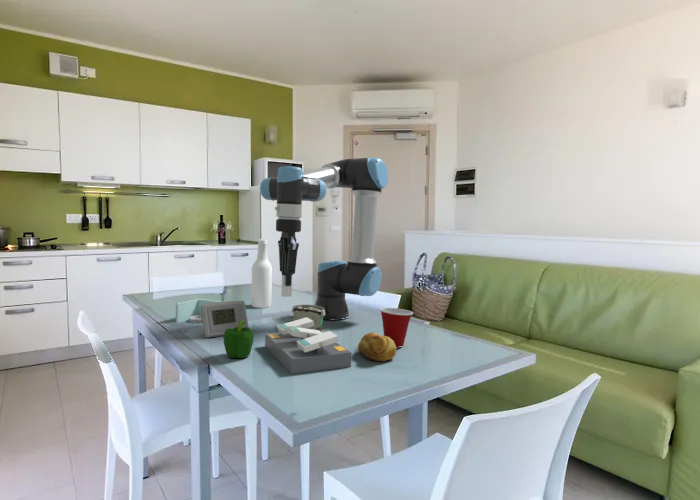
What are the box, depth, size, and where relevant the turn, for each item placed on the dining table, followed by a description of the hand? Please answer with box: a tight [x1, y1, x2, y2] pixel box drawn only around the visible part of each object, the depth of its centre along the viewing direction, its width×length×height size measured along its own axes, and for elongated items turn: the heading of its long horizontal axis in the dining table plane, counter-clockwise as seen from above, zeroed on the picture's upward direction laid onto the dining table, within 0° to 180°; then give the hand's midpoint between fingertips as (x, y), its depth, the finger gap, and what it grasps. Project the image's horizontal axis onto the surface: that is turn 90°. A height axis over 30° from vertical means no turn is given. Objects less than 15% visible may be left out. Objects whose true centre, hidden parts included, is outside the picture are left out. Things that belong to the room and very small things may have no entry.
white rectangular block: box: [297, 330, 339, 352], centre depth 119 cm, size 10×6×2 cm, turn 116°
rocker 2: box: [287, 326, 323, 338], centre depth 127 cm, size 10×6×2 cm, turn 117°
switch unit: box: [264, 329, 352, 375], centre depth 127 cm, size 17×26×6 cm, turn 26°
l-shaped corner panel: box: [175, 298, 222, 324], centre depth 164 cm, size 12×12×8 cm
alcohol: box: [250, 239, 273, 309], centre depth 193 cm, size 9×9×30 cm
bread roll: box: [357, 331, 397, 362], centre depth 129 cm, size 13×10×8 cm
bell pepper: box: [223, 321, 254, 359], centre depth 124 cm, size 8×8×10 cm
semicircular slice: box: [291, 304, 325, 332], centre depth 150 cm, size 12×6×10 cm, turn 65°
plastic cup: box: [379, 307, 414, 347], centre depth 141 cm, size 11×11×12 cm
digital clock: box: [201, 300, 249, 338], centre depth 148 cm, size 16×9×11 cm, turn 122°
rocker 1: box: [276, 317, 314, 335], centre depth 135 cm, size 10×6×2 cm, turn 116°
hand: (286, 296), depth 132 cm, fingers closed
